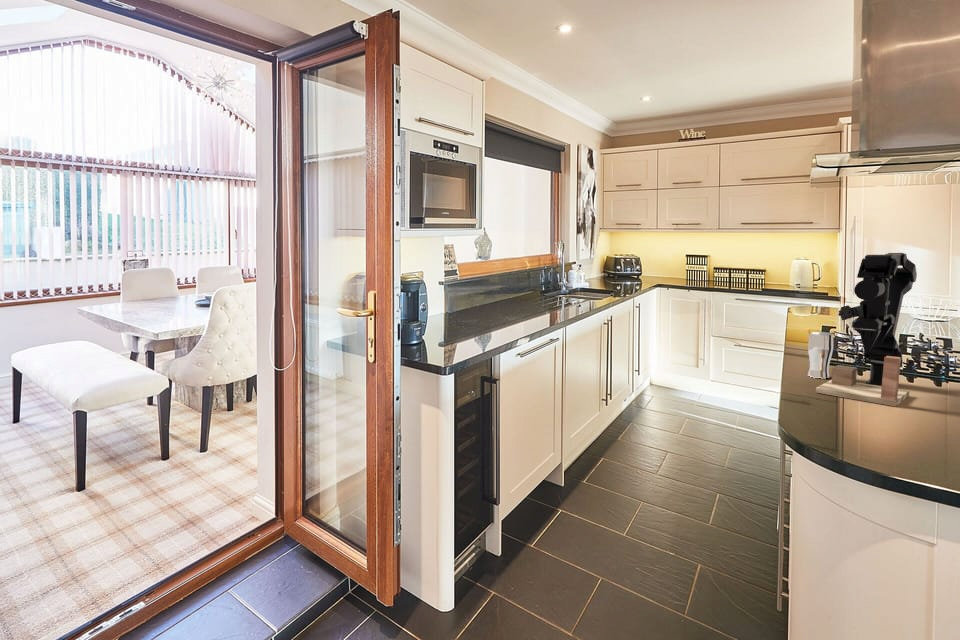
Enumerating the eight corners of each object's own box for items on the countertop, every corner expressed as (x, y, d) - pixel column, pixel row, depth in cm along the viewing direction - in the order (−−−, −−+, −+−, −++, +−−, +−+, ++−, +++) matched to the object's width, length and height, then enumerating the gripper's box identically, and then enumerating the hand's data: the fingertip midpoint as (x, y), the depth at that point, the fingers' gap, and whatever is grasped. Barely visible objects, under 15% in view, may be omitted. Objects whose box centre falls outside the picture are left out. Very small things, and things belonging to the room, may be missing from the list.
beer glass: (835, 379, 165) (838, 335, 163) (811, 379, 166) (814, 334, 164) (825, 374, 172) (828, 331, 170) (802, 374, 173) (805, 331, 171)
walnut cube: (836, 380, 158) (837, 365, 157) (855, 383, 154) (857, 367, 153) (831, 383, 155) (832, 367, 154) (850, 386, 151) (852, 370, 150)
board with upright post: (832, 383, 160) (835, 343, 158) (909, 395, 145) (913, 351, 144) (815, 392, 151) (818, 350, 149) (895, 406, 136) (900, 359, 134)
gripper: (852, 294, 159) (848, 342, 161) (832, 298, 147) (829, 350, 149) (897, 295, 150) (892, 346, 152) (880, 300, 138) (875, 355, 141)
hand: (871, 349), depth 149 cm, fingers open, 9 cm apart
